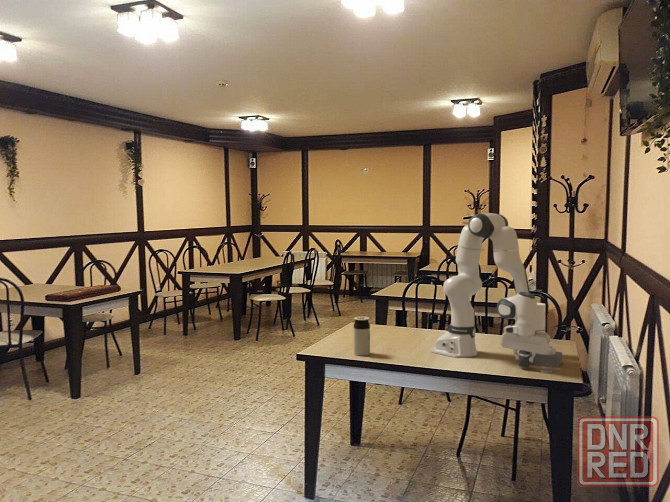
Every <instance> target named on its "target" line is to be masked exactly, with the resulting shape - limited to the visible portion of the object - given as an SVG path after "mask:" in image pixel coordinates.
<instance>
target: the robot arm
mask: <svg viewBox="0 0 670 502" xmlns="http://www.w3.org/2000/svg"><path fill="white" fill-rule="evenodd" d="M485 239H490V240H491V241H492V242H491V243H492V249H493V250H492V251H493V260H494V264H495V265H496V266H497V268H498V269H500V270H502V271H504V272H506V273H508V275H509V274H510V275H511V277H512V278H513V282H514V288H515V292H516V293H515V295H512V296H509V297H504V298H500V299H499V301H498V302H497V303H496V311H497V313H498V315H499V316H500V317H501V319H504V320H505V319H506V320H510V319H511V320H512V319H513V320H514V321H515V322H514V324H509V325H506V326H505V327H504V328H503V333H502V335H501V338H500V339H501V340H500V346H501V348H502V349H503V348H504V349H510V350H512V352H513V354H514V356H515V360H516V361H519V350H521V351H527V352H532V355H533V356H532V357H530V358H529V362H533V359H534V357H535V355H536V353H540V354H548V353H549V351H550V346H551V345H550V342H551V336H550V334H548V333H547V332H546V331H545V332H539V331H536V324H537V323H536V315H537V303H538V301H537V298H536V297H537V296H536V295H534V293H531V289H530V285H529V280H528V275H527V270H526V267H525V265H524V263H523V261H522V259H521V255H520V248H519V247H520V246H519V240H518V239H519V238H518V235H517V231H516V230H515V228H513V227H511V226H509V222H508V219H507V217H505V215H503V214H501V213H491V212H487V213H486V212H485V213H477V214H474V215H472V216H471V217H470V219H469V221H468V224H467V225H464V227H463V228H462V229H461V232H460V236H459V239H458V242H457V243H458V244H457V249H456V256H455V262H456V265H457V269H458V274H457V275H453V276H450V277H449V278H448V279H446V280H445V281H444V282H443V287H442V288H443V289H442V290H443V292H444V295H446V296H447V298H448V302H449V305H450V313H451V314H450V317H451V319H450V324H447V326H446V329H447V331H446V332H445V333H443V334H442V335H440V336H439V337H438V338H437V339H436V341H435V346H433V347H431V348H430V352H431V353H433V354H437V355H443V356H447V357H452V358H467V357H469V358H471V357H475V356H477V355H478V350H477V347H476V345H477V344H476V325H475V309H474V307H473V306H472V303H471V298H470V297H471V296H474V295H476V294H477V293H479V292H480V291H481V290H482V288H483V287H482V286H483V281H482V279H481V277H480V269H479V268H480V259H481V253H482V246H483V243H484V242H483V241H484V240H485ZM542 334H543V335H542Z"/></svg>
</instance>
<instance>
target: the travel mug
mask: <svg viewBox="0 0 670 502" xmlns="http://www.w3.org/2000/svg"><path fill="white" fill-rule="evenodd" d="M353 319H354V323H353V355H356V356H358V357H362V356H363V357H365V356H368V355H370V354H371V324H370V322H369V320H370V317H368V316H355V317H353Z"/></svg>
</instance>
